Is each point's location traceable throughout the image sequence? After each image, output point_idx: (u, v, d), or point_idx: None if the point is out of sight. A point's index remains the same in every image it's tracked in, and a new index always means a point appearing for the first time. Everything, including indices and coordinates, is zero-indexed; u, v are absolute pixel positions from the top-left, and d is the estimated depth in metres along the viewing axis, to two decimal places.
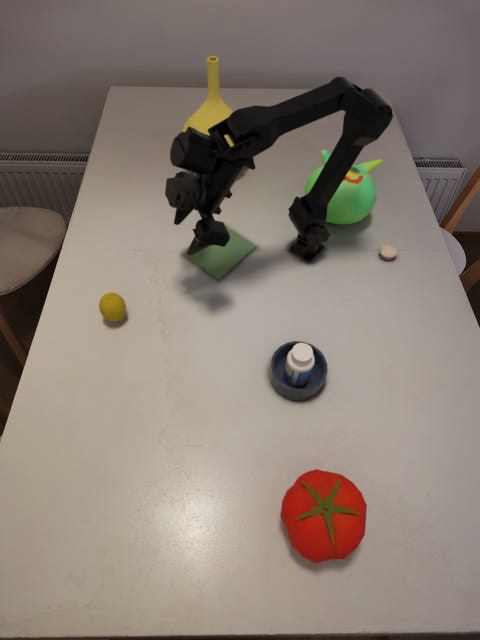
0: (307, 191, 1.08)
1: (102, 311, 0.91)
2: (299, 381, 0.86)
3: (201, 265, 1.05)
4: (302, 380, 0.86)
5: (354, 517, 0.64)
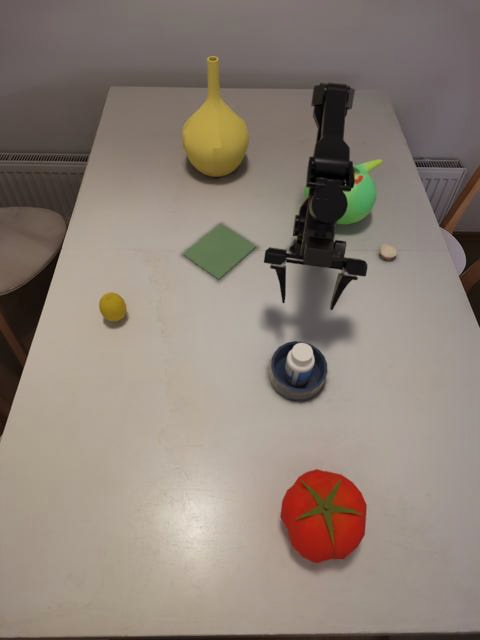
0: (307, 191, 1.08)
1: (102, 311, 0.91)
2: (299, 381, 0.86)
3: (201, 265, 1.05)
4: (302, 380, 0.86)
5: (354, 517, 0.64)
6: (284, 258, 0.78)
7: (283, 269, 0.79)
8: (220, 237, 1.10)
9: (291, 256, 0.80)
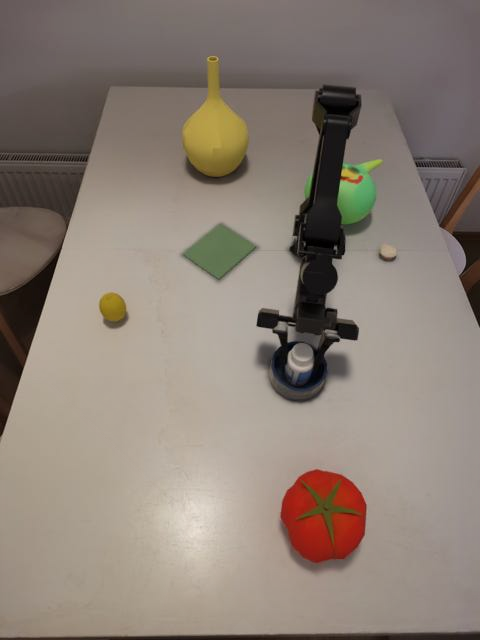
0: (307, 191, 1.08)
1: (102, 311, 0.91)
2: (299, 381, 0.86)
3: (201, 265, 1.05)
4: (302, 380, 0.86)
5: (354, 517, 0.64)
6: (276, 322, 0.79)
7: (285, 334, 0.79)
8: (220, 237, 1.10)
9: (283, 318, 0.81)
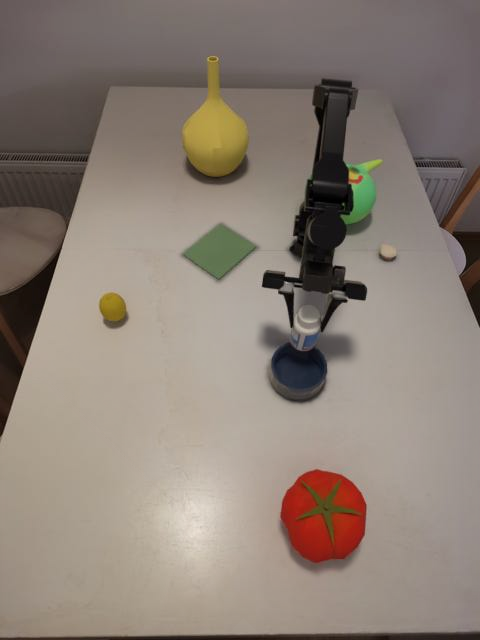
0: None
1: (102, 311, 0.91)
2: (305, 345, 0.84)
3: (201, 265, 1.05)
4: (308, 344, 0.84)
5: (354, 517, 0.64)
6: (282, 283, 0.77)
7: (291, 295, 0.77)
8: (220, 237, 1.10)
9: (289, 279, 0.79)
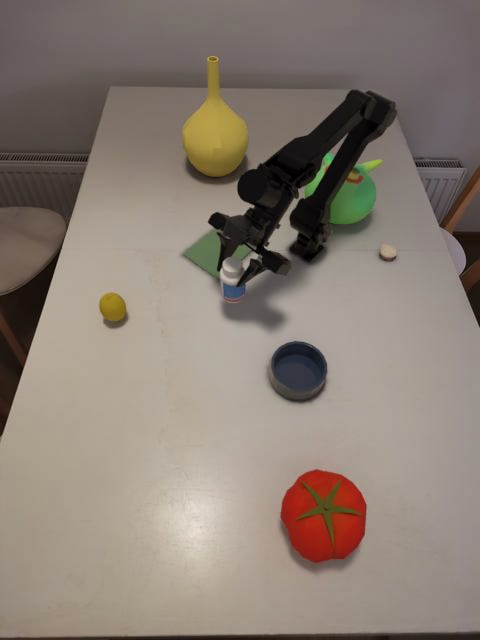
0: (307, 191, 1.08)
1: (102, 311, 0.91)
2: (225, 294, 0.90)
3: (201, 265, 1.05)
4: (227, 295, 0.90)
5: (354, 517, 0.64)
6: (221, 225, 0.84)
7: (223, 239, 0.84)
8: None
9: None
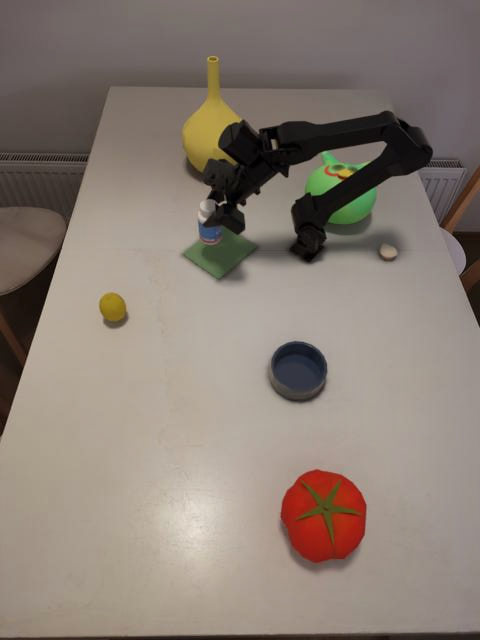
0: (307, 191, 1.08)
1: (102, 311, 0.91)
2: None
3: (201, 265, 1.05)
4: (199, 232, 0.99)
5: (354, 517, 0.64)
6: None
7: None
8: None
9: None
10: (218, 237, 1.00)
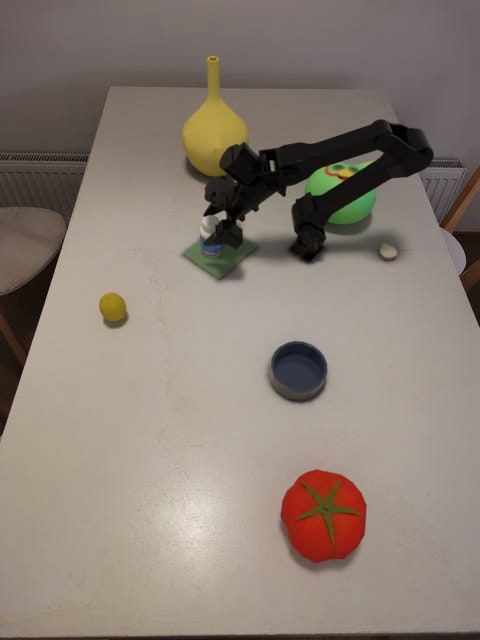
0: (307, 191, 1.08)
1: (102, 311, 0.91)
2: None
3: (201, 265, 1.05)
4: (201, 245, 1.04)
5: (354, 517, 0.64)
6: None
7: None
8: None
9: None
10: (219, 251, 1.05)
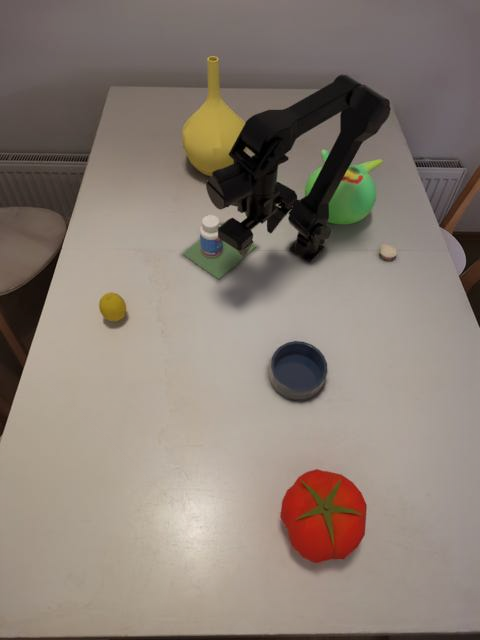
0: (307, 191, 1.08)
1: (102, 311, 0.91)
2: None
3: (201, 265, 1.05)
4: (201, 245, 1.04)
5: (354, 517, 0.64)
6: None
7: None
8: None
9: None
10: (219, 251, 1.05)
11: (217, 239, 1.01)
